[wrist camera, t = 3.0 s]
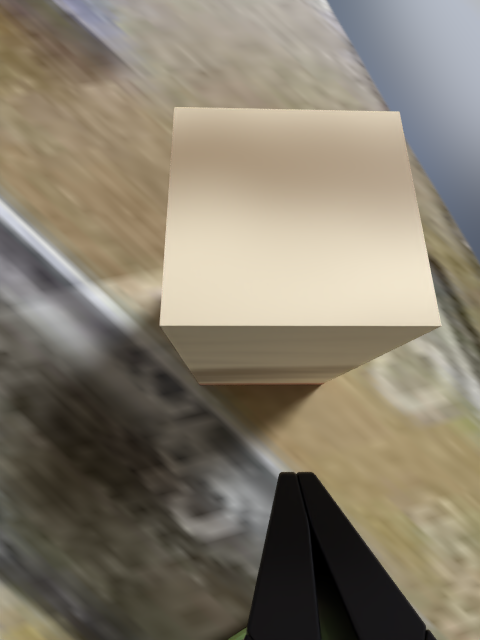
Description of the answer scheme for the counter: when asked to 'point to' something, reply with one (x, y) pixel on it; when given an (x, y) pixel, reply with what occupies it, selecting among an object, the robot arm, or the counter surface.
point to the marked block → (291, 244)
